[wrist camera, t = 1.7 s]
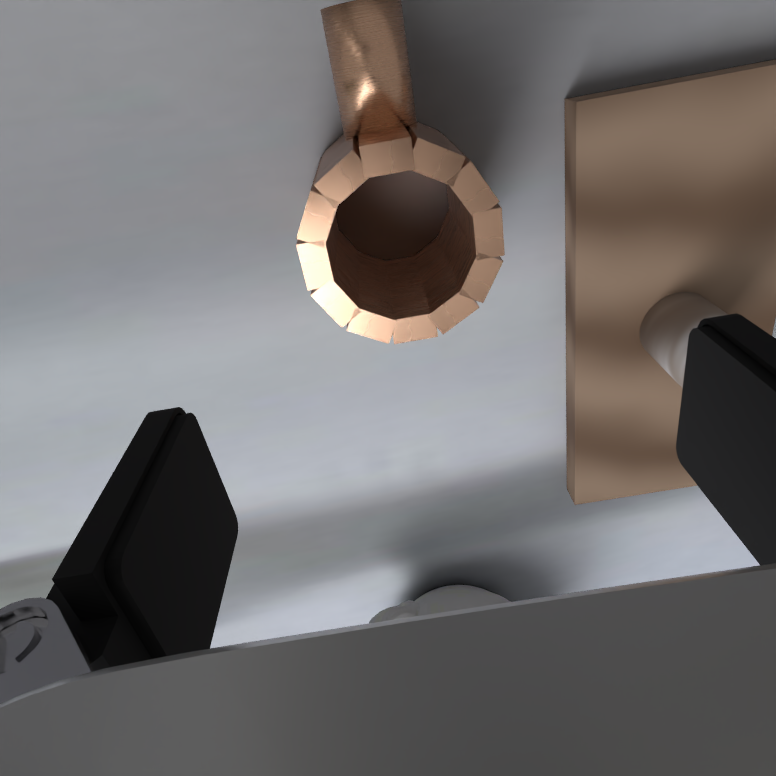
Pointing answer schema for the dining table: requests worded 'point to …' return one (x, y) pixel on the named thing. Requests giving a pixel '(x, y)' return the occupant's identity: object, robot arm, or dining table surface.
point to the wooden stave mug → (387, 156)
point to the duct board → (659, 259)
